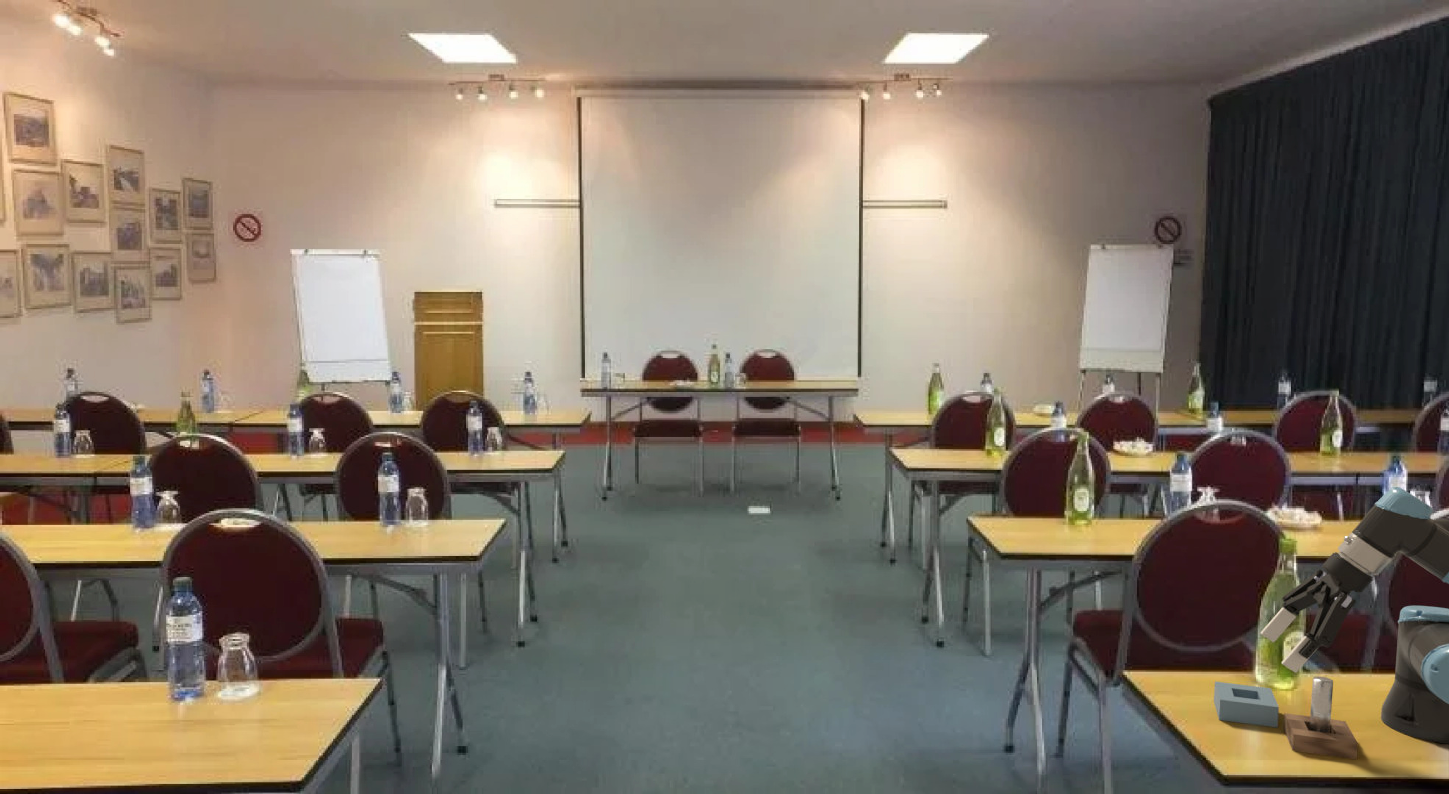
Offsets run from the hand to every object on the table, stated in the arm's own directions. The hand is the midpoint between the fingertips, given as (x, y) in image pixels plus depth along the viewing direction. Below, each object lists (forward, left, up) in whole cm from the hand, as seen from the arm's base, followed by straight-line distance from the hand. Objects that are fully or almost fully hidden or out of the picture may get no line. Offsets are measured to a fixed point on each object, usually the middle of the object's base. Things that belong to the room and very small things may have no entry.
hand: (1277, 652), depth 191 cm
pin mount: (-7, +2, -15) cm, 17 cm away
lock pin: (-7, +2, -15) cm, 17 cm away
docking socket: (+4, -8, -15) cm, 18 cm away
